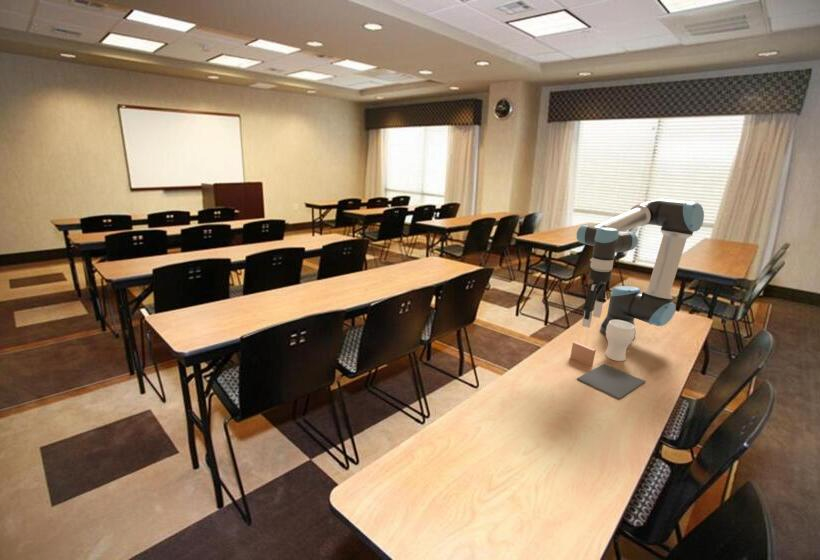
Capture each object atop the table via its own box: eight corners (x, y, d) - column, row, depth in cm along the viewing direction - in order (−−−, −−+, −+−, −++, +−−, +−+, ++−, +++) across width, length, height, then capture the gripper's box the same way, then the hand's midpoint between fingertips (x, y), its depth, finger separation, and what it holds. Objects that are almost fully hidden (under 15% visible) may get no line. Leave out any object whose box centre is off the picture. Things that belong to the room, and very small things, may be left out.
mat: (604, 364, 164) (604, 363, 164) (645, 382, 152) (645, 381, 152) (576, 379, 152) (577, 378, 152) (619, 399, 140) (619, 398, 140)
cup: (626, 365, 164) (633, 331, 160) (598, 357, 170) (604, 324, 166) (631, 356, 172) (638, 323, 168) (604, 348, 178) (610, 317, 174)
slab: (572, 356, 170) (575, 341, 168) (592, 365, 164) (595, 349, 161) (570, 357, 169) (572, 342, 167) (590, 366, 163) (593, 350, 161)
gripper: (599, 261, 164) (591, 310, 170) (579, 273, 145) (570, 328, 151) (619, 265, 159) (610, 315, 165) (601, 277, 141) (591, 333, 147)
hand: (591, 321), depth 158 cm, fingers open, 13 cm apart
